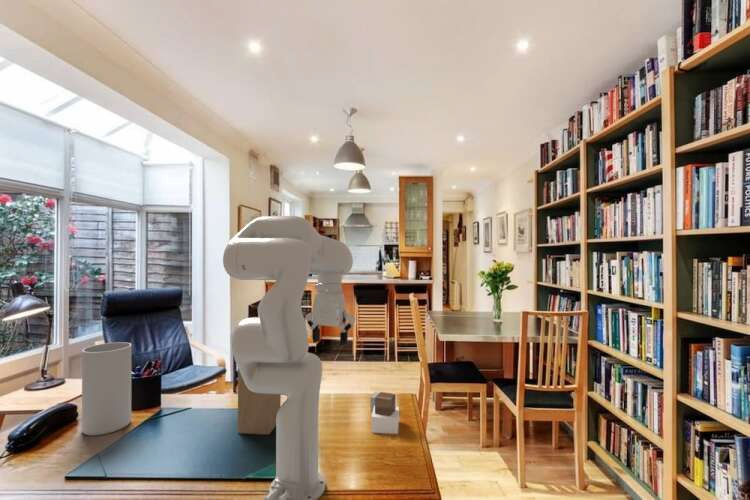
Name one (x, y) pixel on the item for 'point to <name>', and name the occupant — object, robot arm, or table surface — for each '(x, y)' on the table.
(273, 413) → the wooden block
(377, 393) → the slate-grey cube
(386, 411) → the walnut cube
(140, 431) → the table surface
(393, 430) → the off-white block
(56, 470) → the table surface
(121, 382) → the cylinder vase
